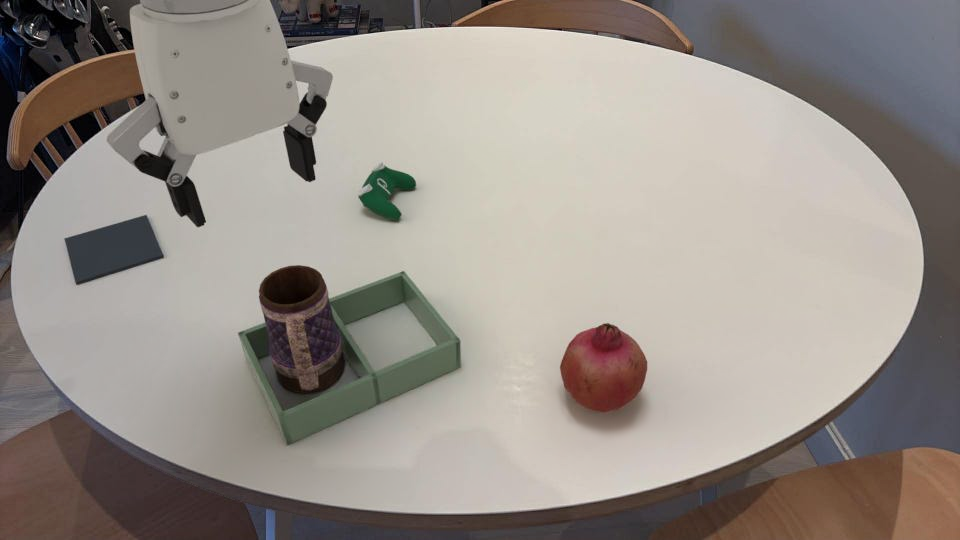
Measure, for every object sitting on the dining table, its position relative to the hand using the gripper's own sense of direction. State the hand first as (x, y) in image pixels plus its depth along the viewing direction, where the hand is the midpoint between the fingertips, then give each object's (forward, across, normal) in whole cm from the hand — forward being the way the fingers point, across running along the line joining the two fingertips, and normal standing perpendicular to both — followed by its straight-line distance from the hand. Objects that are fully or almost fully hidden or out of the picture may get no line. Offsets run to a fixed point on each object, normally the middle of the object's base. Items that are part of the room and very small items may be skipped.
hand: (251, 195), depth 57 cm
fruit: (+22, -21, +22) cm, 38 cm away
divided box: (+22, -5, +2) cm, 23 cm away
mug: (+22, -1, +1) cm, 23 cm away
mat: (+22, +7, -34) cm, 41 cm away
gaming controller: (+22, -25, -20) cm, 39 cm away
